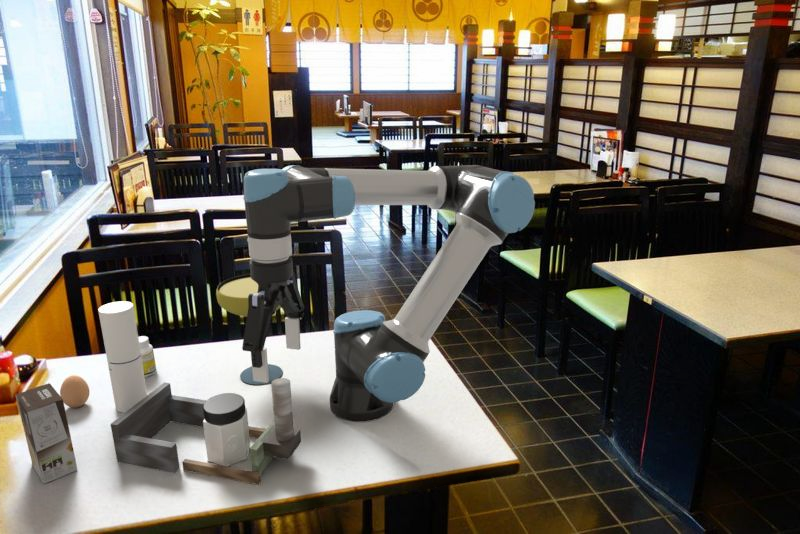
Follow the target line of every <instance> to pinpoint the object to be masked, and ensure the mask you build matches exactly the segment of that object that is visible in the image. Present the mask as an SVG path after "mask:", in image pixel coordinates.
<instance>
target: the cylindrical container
mask: <svg viewBox="0 0 800 534" xmlns="http://www.w3.org/2000/svg"><path fill="white" fill-rule="evenodd" d="M97 310H98V311H97V312H98V316H99V320H100V321H99V322H100V327H101V332H102V333H101V334H102V338H103V344H104V349H105V355H106V362H107V366H108V371H109V378H110V383H111V388H112V389H111V390H112V395H113V400H114V406H115V410H116V411H117V412H120V413H125V412H127V411H128V410H129V409H130V408H132V407H133V406H134V405H136V404H137V403H138V402H140V401H141V400H142V399H143V398H145V397H146V396H147V395H148V391H147V385H146V377H144V371H143V364H142V358H141V351H140V345H139V339H138V337H139V333H138V327H137V321H136V316H135V308H134V303H132V302H131V301H128V300H127V301H124V300H121V301H120V300H119V301H113V302H108V303H106V304H103V305H101V306H100V307H98V309H97Z"/></svg>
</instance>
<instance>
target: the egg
mask: <svg viewBox="0 0 800 534" xmlns="http://www.w3.org/2000/svg"><path fill="white" fill-rule="evenodd" d="M59 391H60V392H59V395H60V396H61V398H62V399H63V403H64V405H65V406H67V407H69V408H73V409H74V408H79V407H80V408H81V407H82V406H83V405H85V403H86V402H87V401H88V399H89V396H90V387H89V385H88V383H87V381H86V380H85V379H84V378H82V376H80V375H75V374H74V375H70V376H68V377H66V378H65V379H63V382H62V384H61V386H60V389H59Z"/></svg>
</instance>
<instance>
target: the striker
mask: <svg viewBox="0 0 800 534" xmlns="http://www.w3.org/2000/svg"><path fill="white" fill-rule="evenodd" d="M270 384H271V385H270V386H271V395H272V397H271V398H272V409H273V410H272V411H273V421H272V422H271V423H270V424H269V425H268V426H267V427H266V428H265V429H266V430H265V431H264V432H263V433H262V435H261V436H260V437H259V438H256V441H255V442H253V444H252V445H250V449H249V456H250V465H251V466H250V467H251V471H254V472H259V473H260V475H261V474H262V473H263V472H264V470H265V469H266V467H268V465H269V464H270V462H271V461H272V460H273V459H274V458H277V459H282V460H290V458H291V457H292V455H293V454H294V453H295V452H296V450H297V448H298V447H299V446H300V444H301V443H302V431H301V429H300V428H296V427H295V426H294V416H293V402H292V401H293V400H292V387H291V385H292V384H291V380H290V379H288V378H285V377H280V378H278V379H275V380H273V381H272V382H271V383H270Z"/></svg>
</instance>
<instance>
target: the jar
mask: <svg viewBox="0 0 800 534" xmlns="http://www.w3.org/2000/svg"><path fill="white" fill-rule="evenodd" d="M206 400H207V401H206V402H205V403H204V405H203V412H204V420H203V426H204V427H203V432H204V440H205V441H204V442H205V450H206V457H207V461H209V462H211V463H212V464H216V465H221V466H227V467H229V466H230V465H234V464H236V463H239V462H242V461H246V460H247V458H248V455H249V453H250V448H251V437H249V418H248V409H247V407H246V400H245V398H244V397H243V396H242V395H240V394H238V393H235V392H233V393H232V392H225V393H224V392H223V393H219V394H216V395H214V396H211V397H209V398H208V399H206Z"/></svg>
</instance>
